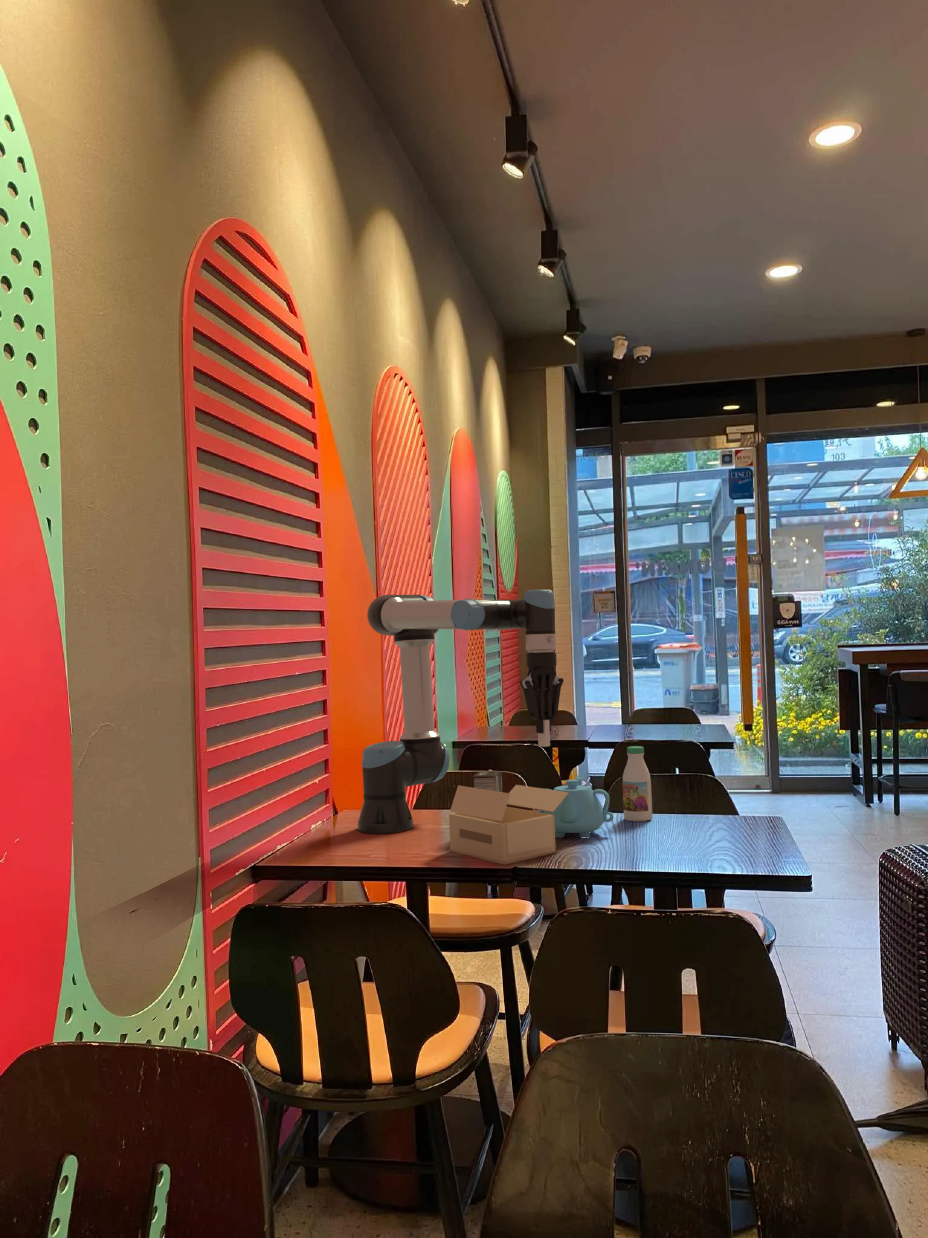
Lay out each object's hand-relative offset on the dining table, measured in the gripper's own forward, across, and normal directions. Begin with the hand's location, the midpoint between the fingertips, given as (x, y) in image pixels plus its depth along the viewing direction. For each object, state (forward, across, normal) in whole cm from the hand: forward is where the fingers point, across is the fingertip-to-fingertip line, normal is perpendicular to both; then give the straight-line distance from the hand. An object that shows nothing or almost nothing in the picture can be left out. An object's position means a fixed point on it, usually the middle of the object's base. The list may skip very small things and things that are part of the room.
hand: (544, 746), depth 235 cm
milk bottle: (+24, +37, +3) cm, 45 cm away
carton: (+24, -15, 0) cm, 28 cm away
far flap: (+14, -7, 0) cm, 16 cm away
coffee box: (+24, -4, +18) cm, 30 cm away
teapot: (+24, +11, +2) cm, 27 cm away
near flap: (+14, -23, 0) cm, 27 cm away
